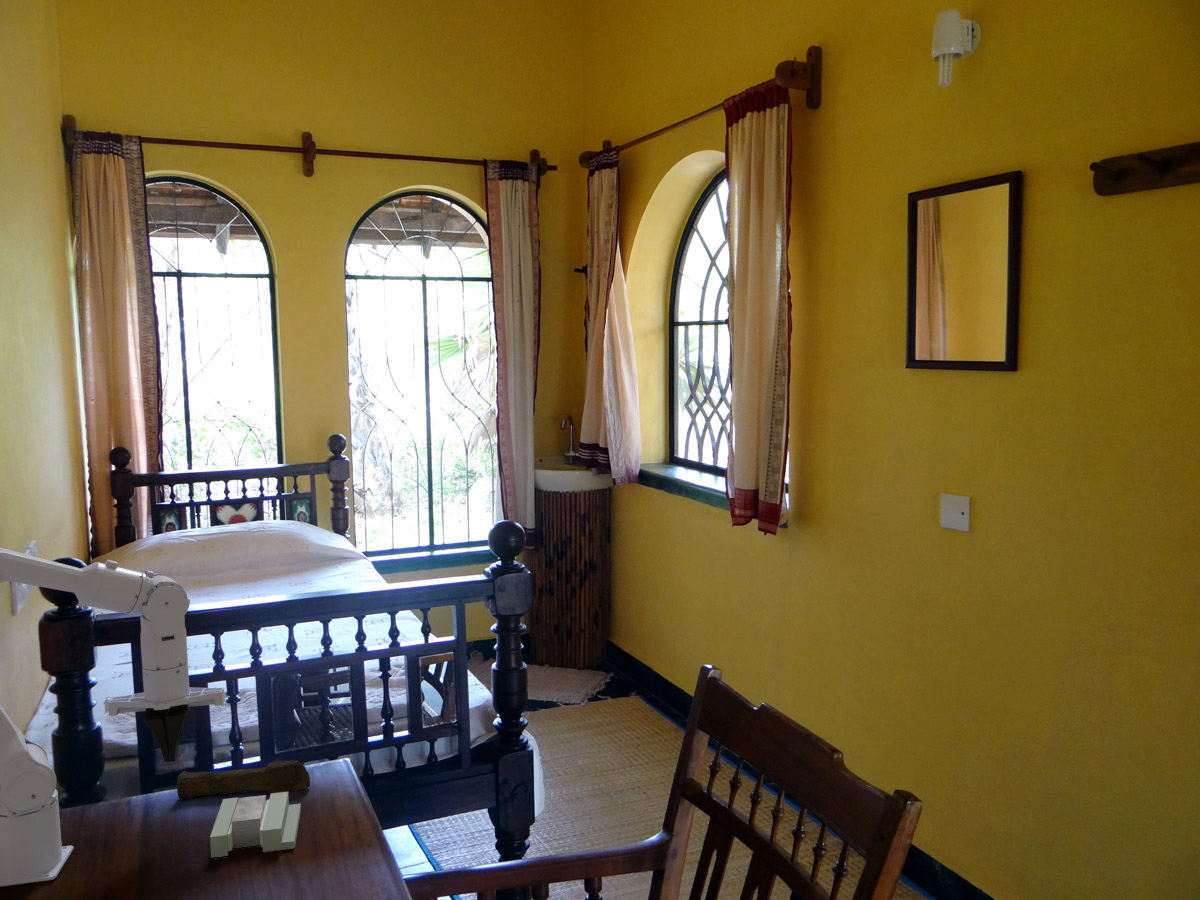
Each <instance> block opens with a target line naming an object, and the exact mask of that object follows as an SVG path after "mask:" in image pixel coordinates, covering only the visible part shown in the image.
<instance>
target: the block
mask: <svg viewBox="0 0 1200 900" xmlns="http://www.w3.org/2000/svg"><path fill="white" fill-rule="evenodd" d="M266 803H267V795H266V794H265V795H264V794H263V795H256V796H254V795H253V796H246V797H238V803H237V806H236V809H235V812H234V815H233V819H232V840H233V848H236V847H237V848H239V847H240V848H241V847H247V846H256V845H260V827H261V823H262V819H263V815H264V811H265V807H266ZM256 847H257V846H256ZM233 848H232V849H233ZM241 849H242V848H241Z"/></svg>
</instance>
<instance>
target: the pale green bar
mask: <svg viewBox="0 0 1200 900" xmlns="http://www.w3.org/2000/svg"><path fill="white" fill-rule="evenodd" d="M269 795H270V796H269V799H266V807H265V811H264V815H263V819H262V823H261V827H260V845H261V846H260V847H261V848H262V852H263V853H267V852H276V851H275V850H277V851H285V850H291V849H295V848H296V843H297V838H298V837H297V835H298V829H299V824H300V819H301V818H300V817H301V813H302V812H301V811H302V809H301V808H302V805H301V803H294V804H290V801H289V799H290V798H289V792H281V793H272V794H269Z"/></svg>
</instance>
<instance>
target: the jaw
mask: <svg viewBox="0 0 1200 900" xmlns="http://www.w3.org/2000/svg"><path fill="white" fill-rule="evenodd" d="M238 799H239V797H231V798H223V799H222V802H221V804H220V807H219V811H218V813H217V816H216V818H215V821H214V824H213V828H212V830H211V833H210V836H209V840H210V841H209V843H210V858H213V857H222V856H229V854H228V852H229V853H230V852H231V851H233V840H232V819H233V815H234V812H235V809H236V806H237V803H238Z"/></svg>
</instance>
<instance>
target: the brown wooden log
mask: <svg viewBox="0 0 1200 900" xmlns="http://www.w3.org/2000/svg"><path fill="white" fill-rule="evenodd" d="M310 779H311V777H310V773H309V772H308V771H307V768H306V766H305V765H304V764H303V763H301V762H300V761H299V760H294V759H293V760H276V761H272V762H269V763H268V764H267V765H266V767H265V766H264V767H256V768H255V767H254V768H244V769H243V768H242V769H232V770H221V771H220V770H212V771H197V772H189V771H187V770H183V771H181V773H179V774H178V775H177V780H176V781H177V782H176V793H177V794H176V795H177V797H178V800H179V801H181V800H183V799H185V798H188V799H190V800H192V799H193V798H194V797H201V796H202V797H204V796H213V795H224V794H225V795H228V794H239V793H240V794H241V793H250V792H251V793H252V792H268V794H269V795H271V794H272V793H281V792H288V793H291V792H292V793H293V792H296V791H300V790H303V789H308V788H309V787H311V780H310Z"/></svg>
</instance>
